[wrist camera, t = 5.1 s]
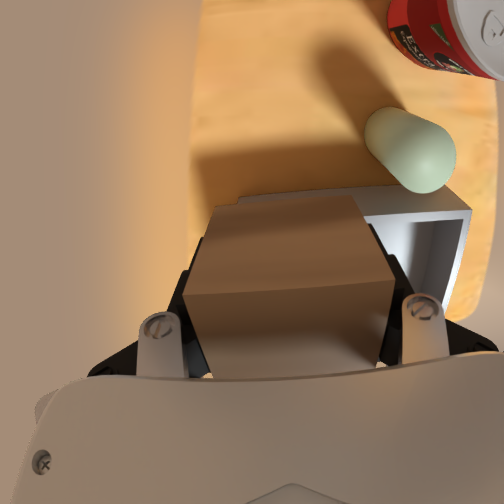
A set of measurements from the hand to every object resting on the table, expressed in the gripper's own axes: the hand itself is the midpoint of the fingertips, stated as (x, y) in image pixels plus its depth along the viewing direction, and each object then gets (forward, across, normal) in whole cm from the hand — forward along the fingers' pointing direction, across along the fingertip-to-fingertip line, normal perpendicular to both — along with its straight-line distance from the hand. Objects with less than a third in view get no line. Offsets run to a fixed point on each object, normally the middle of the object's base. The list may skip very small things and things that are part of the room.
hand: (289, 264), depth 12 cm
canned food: (+16, -14, -12) cm, 24 cm away
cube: (+1, 0, 0) cm, 1 cm away
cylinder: (+16, -10, -2) cm, 18 cm away
